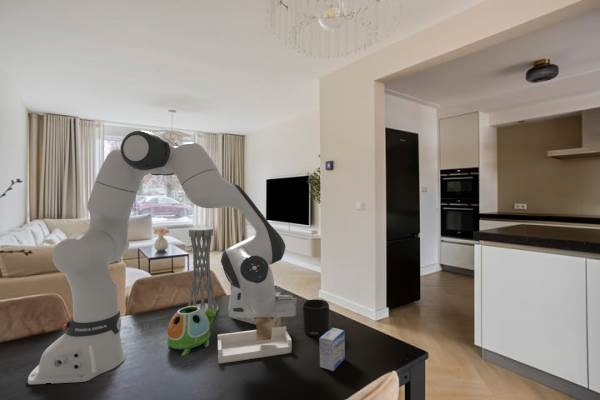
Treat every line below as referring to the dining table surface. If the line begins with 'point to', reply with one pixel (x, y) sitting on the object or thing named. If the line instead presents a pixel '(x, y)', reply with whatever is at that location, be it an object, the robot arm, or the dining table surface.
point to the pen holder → (315, 317)
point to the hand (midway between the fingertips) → (264, 318)
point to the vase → (206, 235)
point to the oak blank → (263, 328)
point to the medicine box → (332, 349)
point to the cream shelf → (252, 345)
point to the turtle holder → (190, 328)
